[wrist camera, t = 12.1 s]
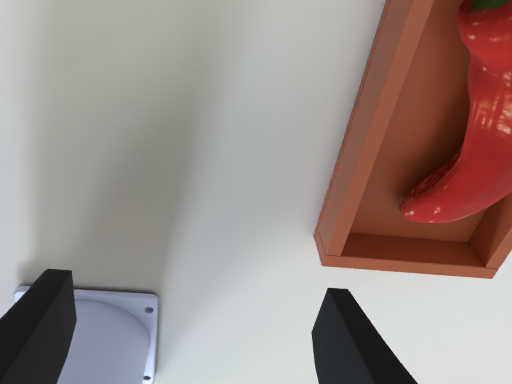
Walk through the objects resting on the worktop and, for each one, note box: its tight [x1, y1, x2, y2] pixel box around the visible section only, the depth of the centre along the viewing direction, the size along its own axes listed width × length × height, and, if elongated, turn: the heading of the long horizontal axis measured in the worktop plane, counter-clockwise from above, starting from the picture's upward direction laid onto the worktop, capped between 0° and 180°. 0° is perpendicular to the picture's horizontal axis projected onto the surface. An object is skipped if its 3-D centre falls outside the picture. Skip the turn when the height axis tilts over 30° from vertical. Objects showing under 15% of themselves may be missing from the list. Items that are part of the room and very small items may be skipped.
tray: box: [314, 0, 512, 279], centre depth 18 cm, size 18×10×2 cm, turn 171°
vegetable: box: [399, 0, 512, 223], centre depth 17 cm, size 4×5×12 cm
